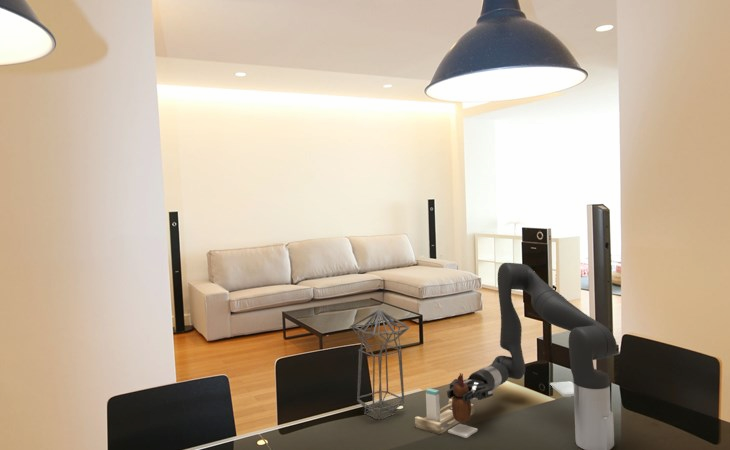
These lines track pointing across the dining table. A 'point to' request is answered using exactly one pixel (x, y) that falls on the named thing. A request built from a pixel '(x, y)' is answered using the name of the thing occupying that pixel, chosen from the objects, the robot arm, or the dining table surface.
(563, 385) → the hard drive
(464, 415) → the wooden figurine
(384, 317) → the geometric lantern
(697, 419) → the dining table surface
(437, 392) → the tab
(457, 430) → the pad
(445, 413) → the light wooden tray
